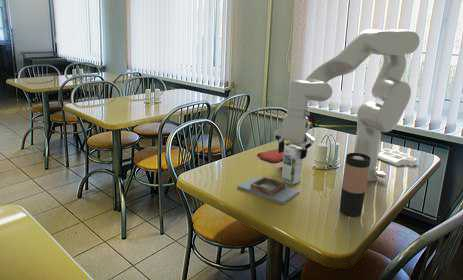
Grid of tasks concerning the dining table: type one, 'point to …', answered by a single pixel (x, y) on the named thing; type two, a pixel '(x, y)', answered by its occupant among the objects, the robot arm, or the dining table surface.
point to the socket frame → (265, 190)
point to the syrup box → (292, 164)
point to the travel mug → (354, 184)
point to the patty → (271, 156)
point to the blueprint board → (279, 197)
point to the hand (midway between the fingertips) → (291, 155)
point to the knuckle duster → (396, 157)
